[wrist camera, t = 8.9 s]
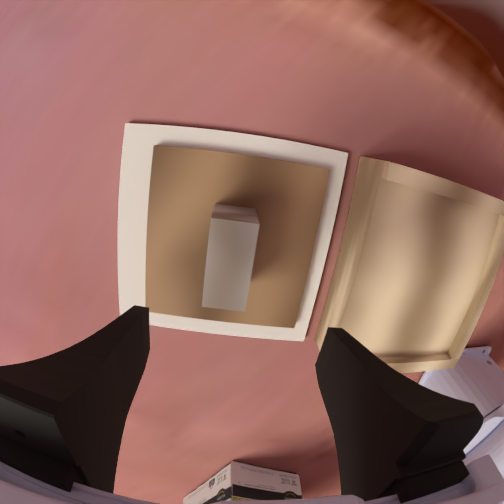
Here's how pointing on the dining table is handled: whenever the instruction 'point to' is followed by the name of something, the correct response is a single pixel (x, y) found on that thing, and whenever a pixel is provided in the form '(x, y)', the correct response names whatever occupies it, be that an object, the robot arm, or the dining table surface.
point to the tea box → (246, 485)
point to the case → (413, 266)
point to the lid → (230, 235)
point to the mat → (136, 212)
